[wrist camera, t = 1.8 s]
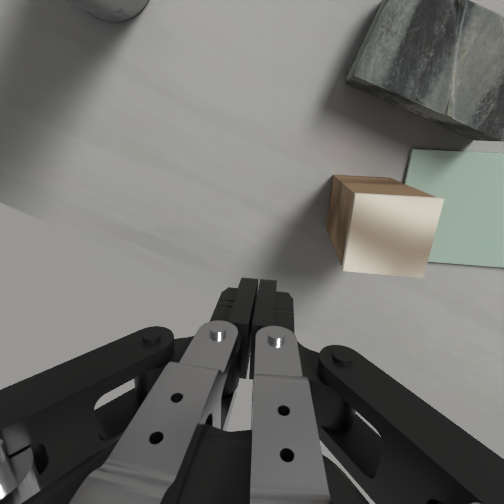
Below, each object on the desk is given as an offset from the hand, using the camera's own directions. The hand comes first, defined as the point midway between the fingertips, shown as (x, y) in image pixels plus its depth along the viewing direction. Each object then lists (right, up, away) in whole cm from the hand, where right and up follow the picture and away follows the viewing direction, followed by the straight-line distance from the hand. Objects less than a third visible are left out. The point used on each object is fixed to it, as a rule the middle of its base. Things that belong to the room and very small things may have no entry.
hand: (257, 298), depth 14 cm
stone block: (+17, +20, +16) cm, 30 cm away
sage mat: (+23, +6, +20) cm, 31 cm away
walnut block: (+11, +7, +21) cm, 25 cm away
